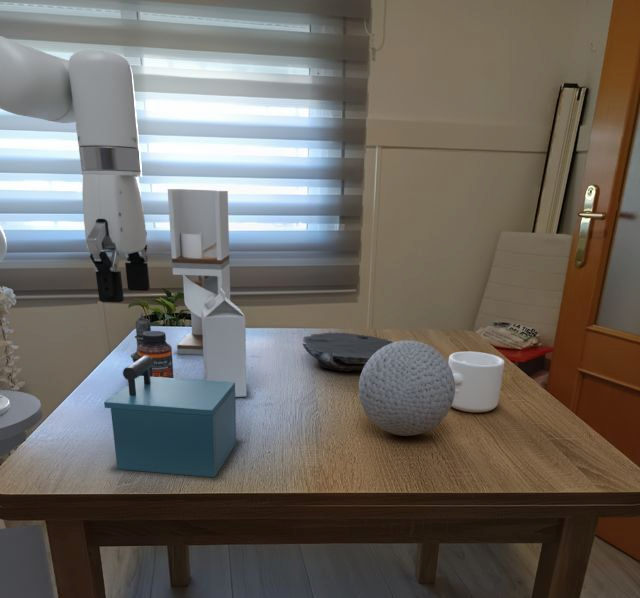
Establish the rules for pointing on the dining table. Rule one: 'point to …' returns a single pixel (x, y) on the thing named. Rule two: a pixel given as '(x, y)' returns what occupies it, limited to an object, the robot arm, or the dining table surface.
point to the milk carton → (224, 342)
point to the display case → (199, 253)
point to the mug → (476, 380)
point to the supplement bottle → (157, 354)
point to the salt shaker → (140, 333)
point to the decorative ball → (406, 388)
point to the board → (343, 349)
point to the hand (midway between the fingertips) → (126, 295)
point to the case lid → (168, 392)
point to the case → (174, 440)
